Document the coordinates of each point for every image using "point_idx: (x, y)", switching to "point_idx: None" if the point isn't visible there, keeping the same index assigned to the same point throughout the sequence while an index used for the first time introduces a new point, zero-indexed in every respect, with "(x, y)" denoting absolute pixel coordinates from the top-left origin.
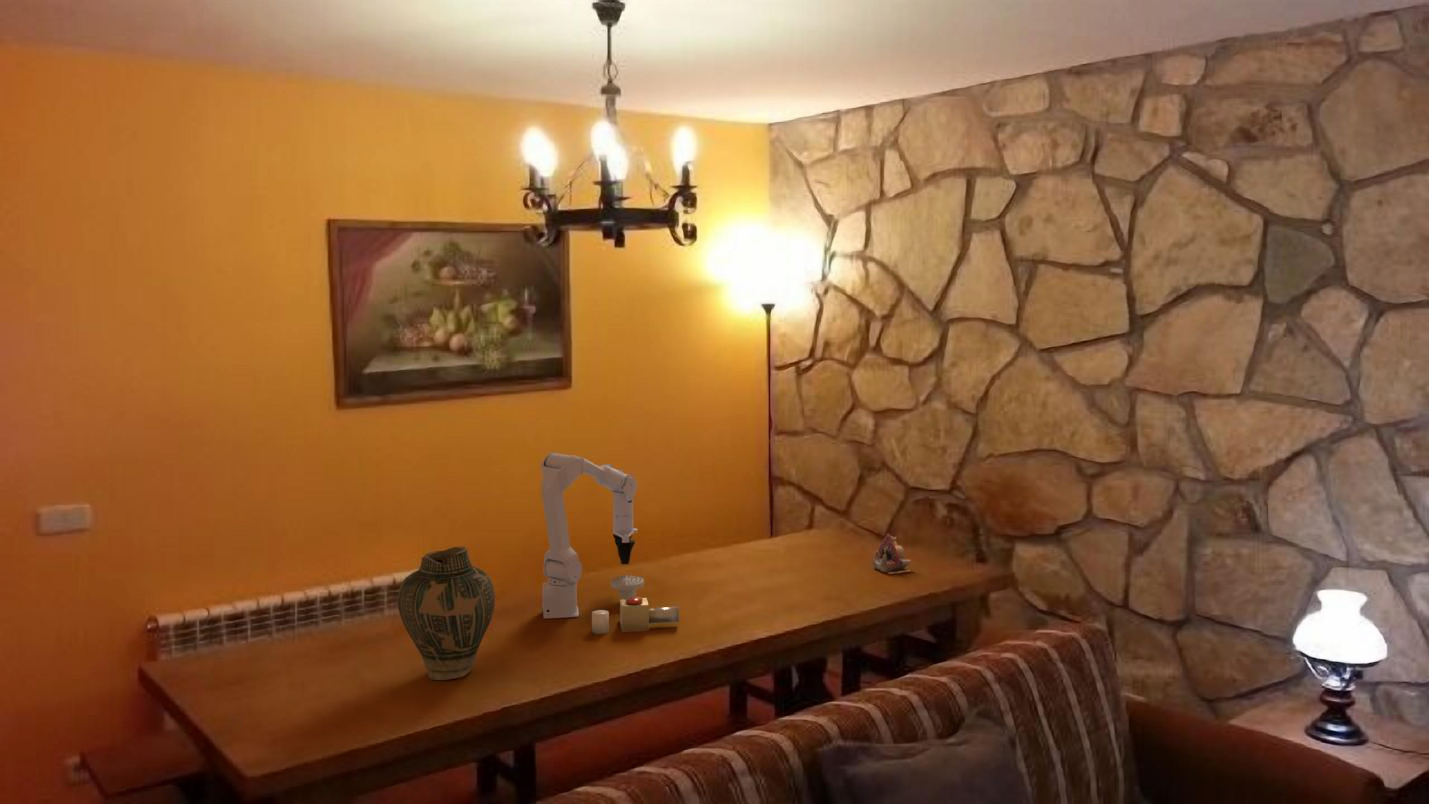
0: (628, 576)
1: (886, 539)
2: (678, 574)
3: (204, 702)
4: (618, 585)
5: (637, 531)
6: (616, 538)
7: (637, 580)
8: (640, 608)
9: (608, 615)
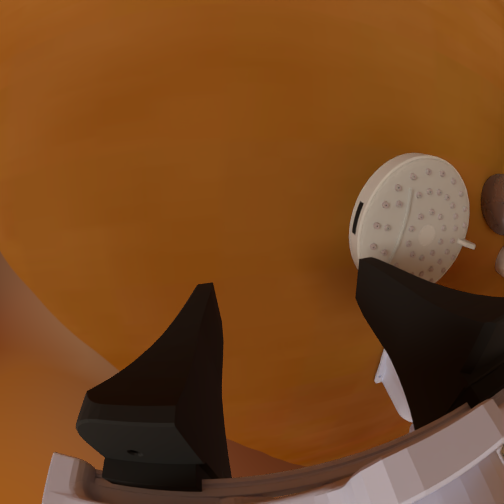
0: (389, 230)
1: None
2: (36, 46)
3: None
4: (453, 261)
5: (490, 406)
6: (227, 457)
7: (445, 188)
8: None
9: None
